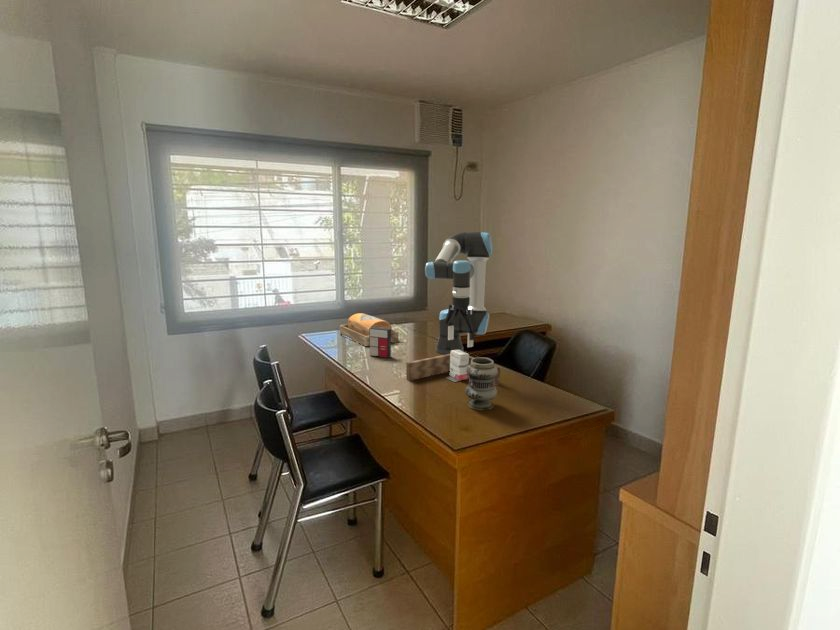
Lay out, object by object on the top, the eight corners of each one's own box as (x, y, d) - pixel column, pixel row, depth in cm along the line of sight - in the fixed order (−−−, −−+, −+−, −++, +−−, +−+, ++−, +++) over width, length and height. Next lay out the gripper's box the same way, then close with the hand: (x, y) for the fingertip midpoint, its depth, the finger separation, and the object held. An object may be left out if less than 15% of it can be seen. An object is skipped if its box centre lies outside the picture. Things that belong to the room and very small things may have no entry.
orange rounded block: (394, 342, 258) (393, 319, 256) (368, 346, 250) (368, 322, 247) (371, 332, 283) (370, 311, 280) (347, 335, 274) (347, 314, 271)
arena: (458, 367, 211) (458, 351, 209) (499, 384, 188) (500, 367, 187) (406, 379, 194) (406, 362, 193) (444, 399, 172) (445, 380, 170)
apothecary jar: (474, 413, 159) (476, 366, 155) (459, 402, 170) (460, 357, 166) (502, 408, 163) (504, 362, 160) (485, 397, 174) (487, 354, 171)
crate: (370, 330, 288) (370, 321, 286) (398, 341, 259) (398, 331, 258) (339, 334, 275) (339, 325, 274) (365, 347, 247) (365, 336, 246)
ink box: (468, 379, 194) (469, 353, 192) (459, 381, 192) (460, 355, 190) (458, 373, 202) (458, 348, 199) (448, 375, 199) (449, 350, 197)
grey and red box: (369, 356, 230) (368, 328, 227) (372, 354, 233) (372, 326, 230) (387, 358, 225) (387, 330, 223) (391, 356, 229) (391, 328, 226)
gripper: (437, 293, 197) (436, 338, 202) (473, 301, 177) (472, 351, 182) (450, 291, 201) (449, 335, 206) (487, 299, 181) (485, 348, 186)
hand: (460, 343), depth 194 cm, fingers open, 13 cm apart
